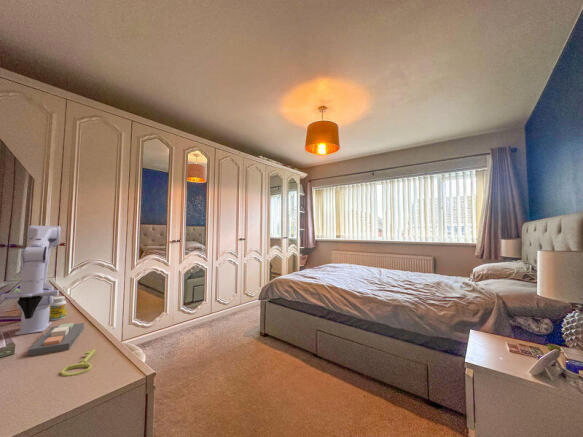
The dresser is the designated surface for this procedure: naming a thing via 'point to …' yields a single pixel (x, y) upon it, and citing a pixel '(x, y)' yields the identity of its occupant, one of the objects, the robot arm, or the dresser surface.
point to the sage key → (67, 325)
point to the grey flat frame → (62, 346)
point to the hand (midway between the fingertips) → (29, 317)
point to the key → (79, 365)
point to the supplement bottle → (58, 308)
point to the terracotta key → (53, 340)
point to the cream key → (60, 331)
